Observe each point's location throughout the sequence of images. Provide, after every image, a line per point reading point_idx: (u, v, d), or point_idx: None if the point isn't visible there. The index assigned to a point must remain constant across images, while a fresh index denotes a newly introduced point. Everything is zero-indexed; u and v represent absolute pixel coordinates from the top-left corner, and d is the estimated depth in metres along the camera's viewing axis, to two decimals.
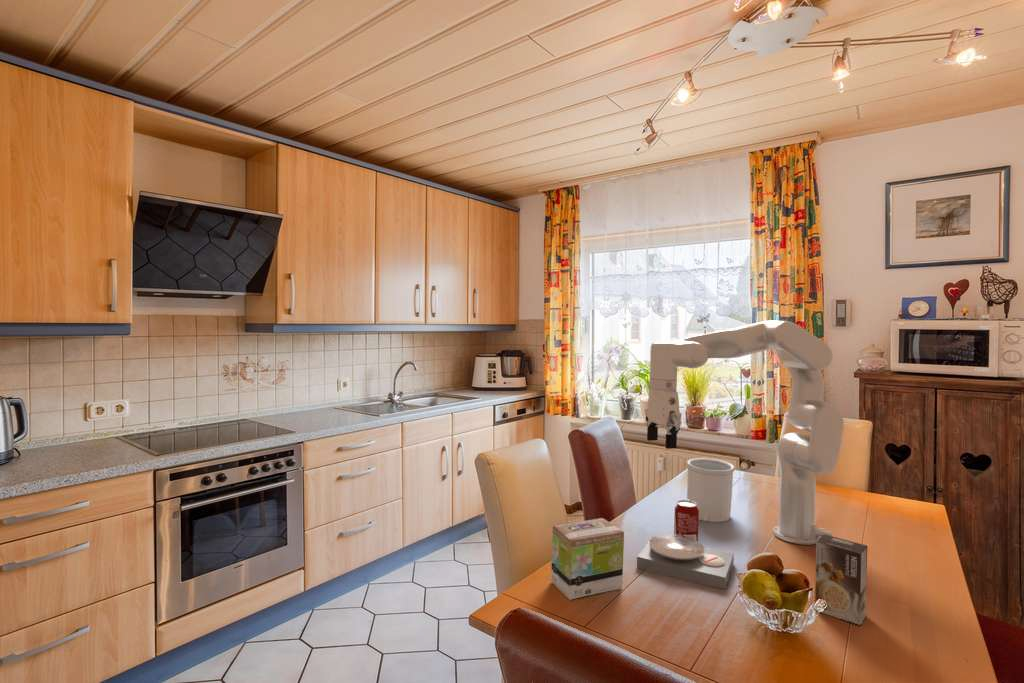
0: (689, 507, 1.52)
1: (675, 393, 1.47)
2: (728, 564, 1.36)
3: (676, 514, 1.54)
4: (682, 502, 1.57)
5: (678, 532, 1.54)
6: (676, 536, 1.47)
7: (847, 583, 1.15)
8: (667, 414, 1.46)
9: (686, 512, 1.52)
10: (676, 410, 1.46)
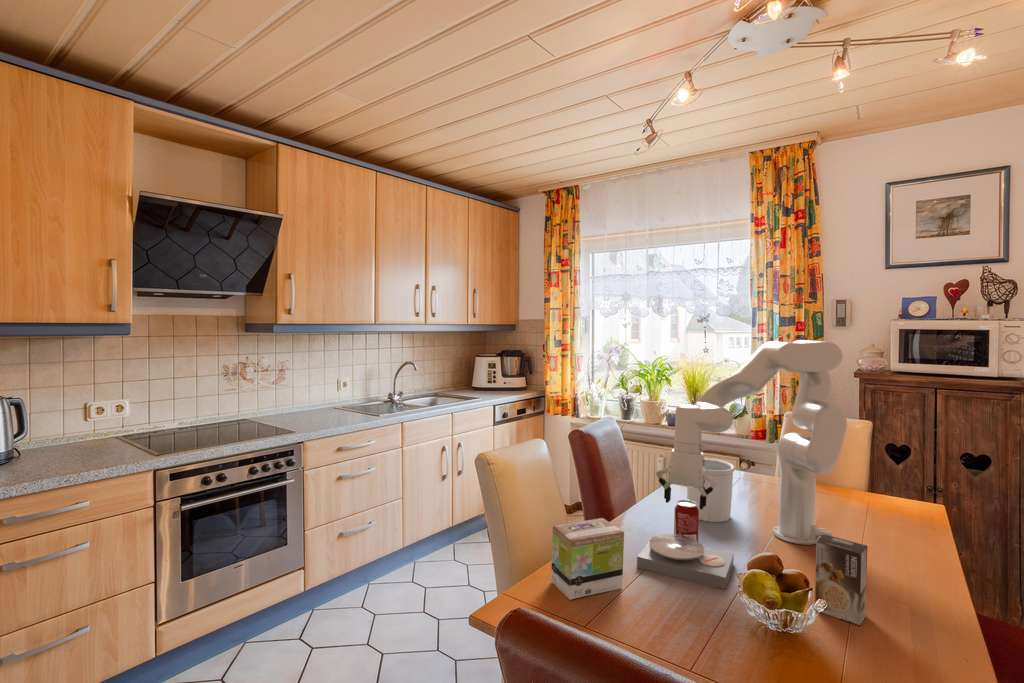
0: (689, 507, 1.52)
1: (703, 454, 1.53)
2: (728, 564, 1.36)
3: (676, 514, 1.54)
4: (682, 502, 1.57)
5: (678, 532, 1.54)
6: (676, 536, 1.47)
7: (847, 583, 1.15)
8: (702, 476, 1.51)
9: (686, 512, 1.52)
10: None
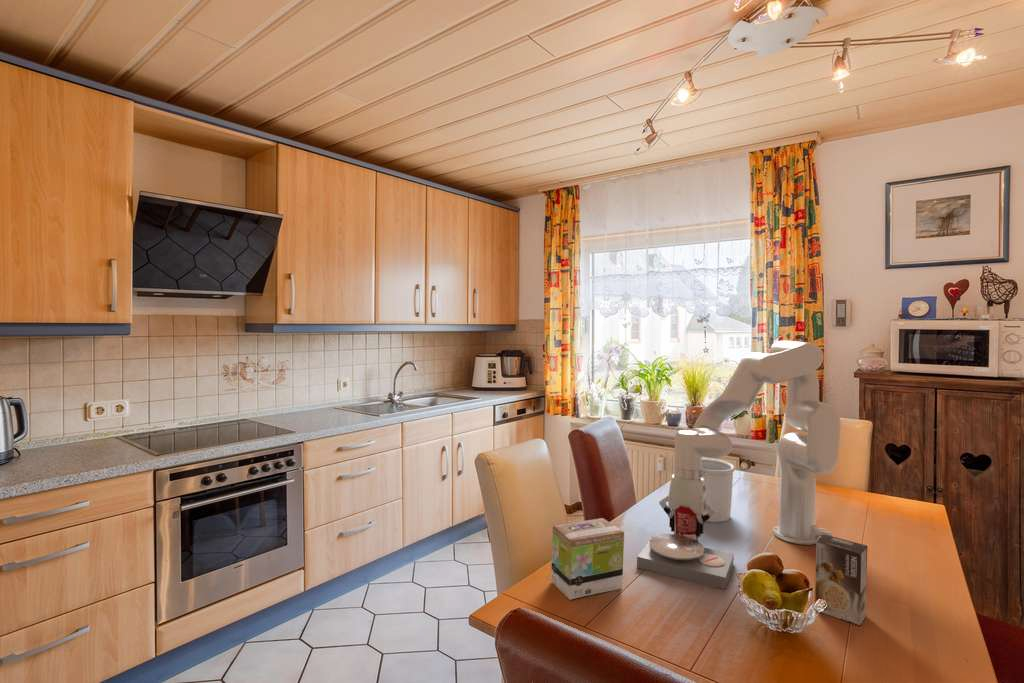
0: (689, 507, 1.52)
1: None
2: (728, 564, 1.36)
3: (676, 514, 1.54)
4: None
5: (678, 532, 1.54)
6: (676, 536, 1.47)
7: (847, 583, 1.15)
8: (703, 502, 1.51)
9: (686, 512, 1.52)
10: (705, 496, 1.53)
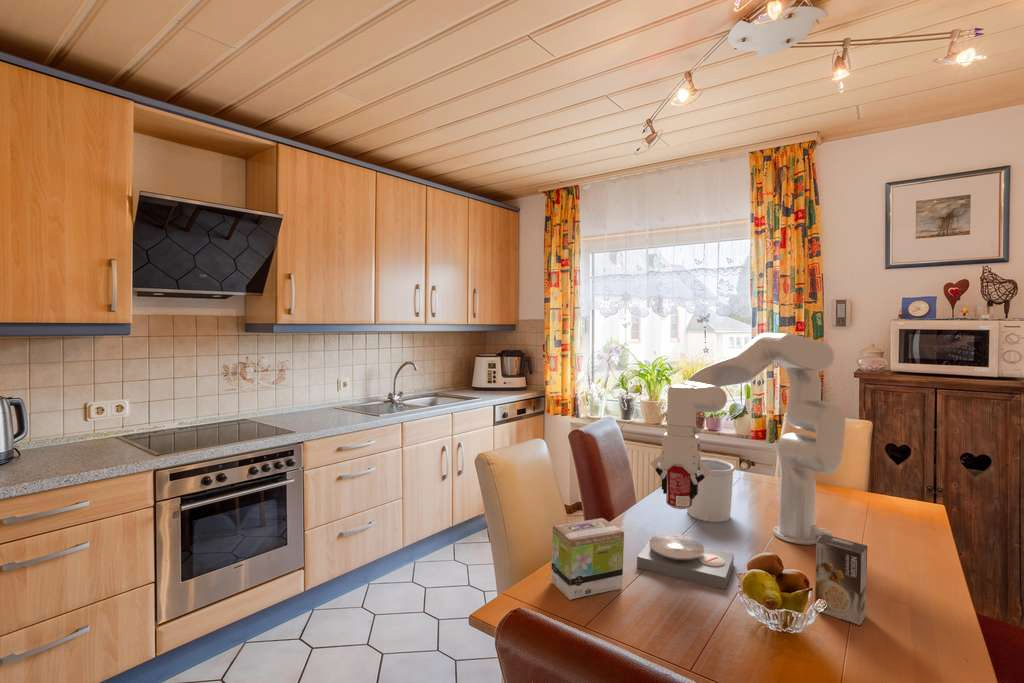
0: (682, 466, 1.41)
1: (698, 438, 1.42)
2: (728, 564, 1.36)
3: (668, 474, 1.43)
4: None
5: (670, 493, 1.43)
6: (676, 536, 1.47)
7: (847, 583, 1.15)
8: (697, 461, 1.40)
9: (679, 471, 1.41)
10: (700, 455, 1.43)
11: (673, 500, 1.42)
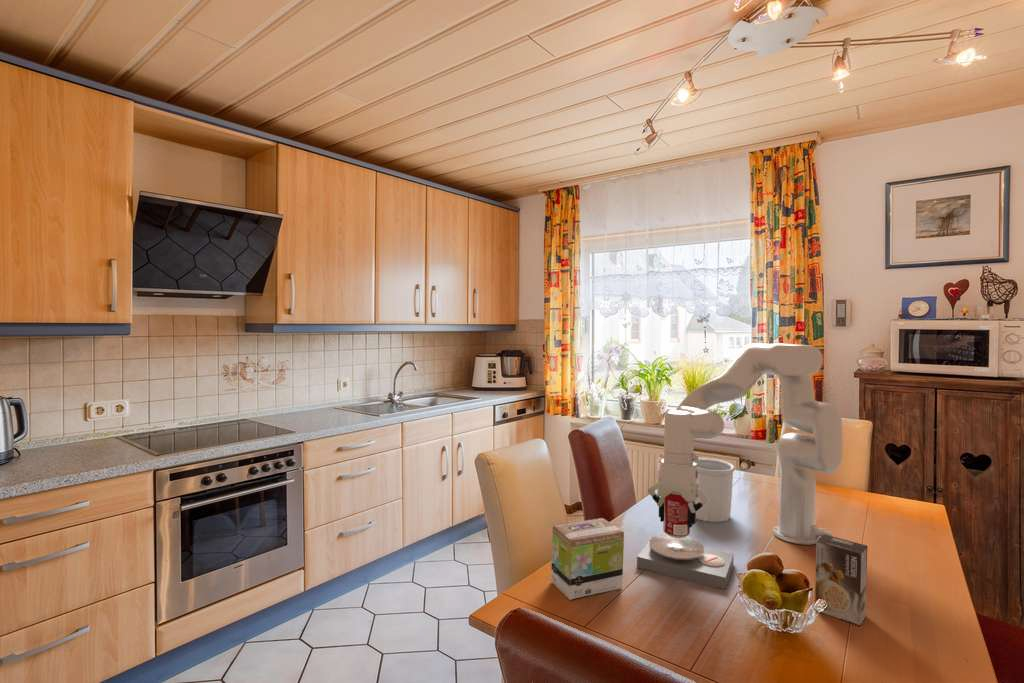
0: (680, 494, 1.39)
1: (696, 465, 1.40)
2: (728, 564, 1.36)
3: (665, 502, 1.41)
4: None
5: (667, 522, 1.40)
6: None
7: (847, 583, 1.15)
8: (695, 489, 1.38)
9: (677, 500, 1.38)
10: None
11: (671, 529, 1.39)
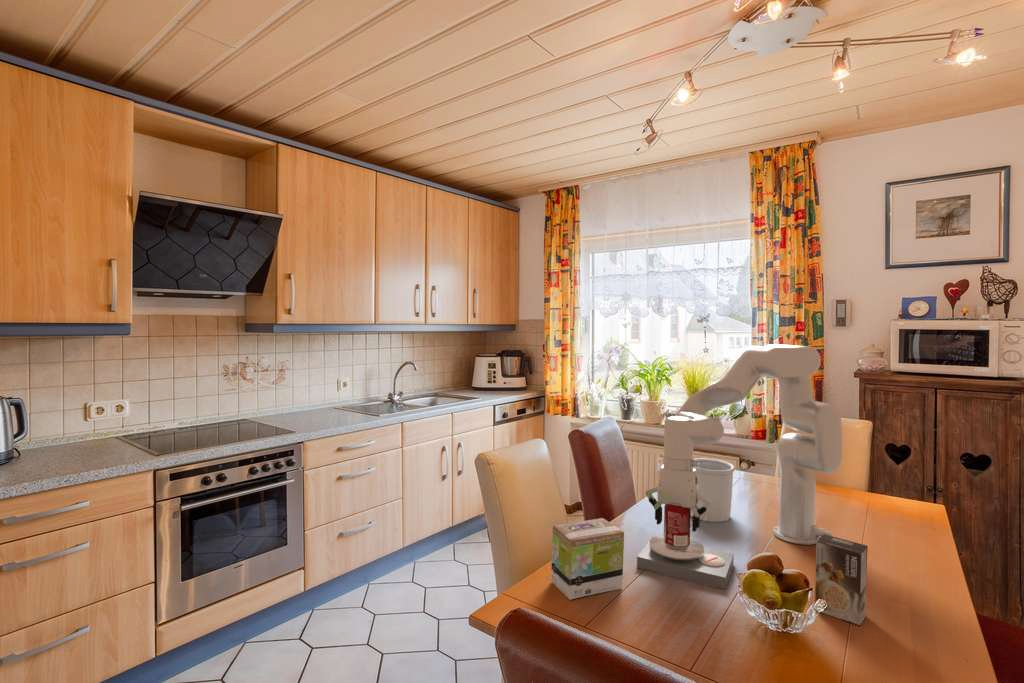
0: (680, 505, 1.39)
1: None
2: (728, 564, 1.36)
3: (666, 513, 1.41)
4: None
5: (668, 533, 1.40)
6: None
7: (847, 583, 1.15)
8: (695, 495, 1.38)
9: (677, 511, 1.39)
10: None
11: (671, 540, 1.39)
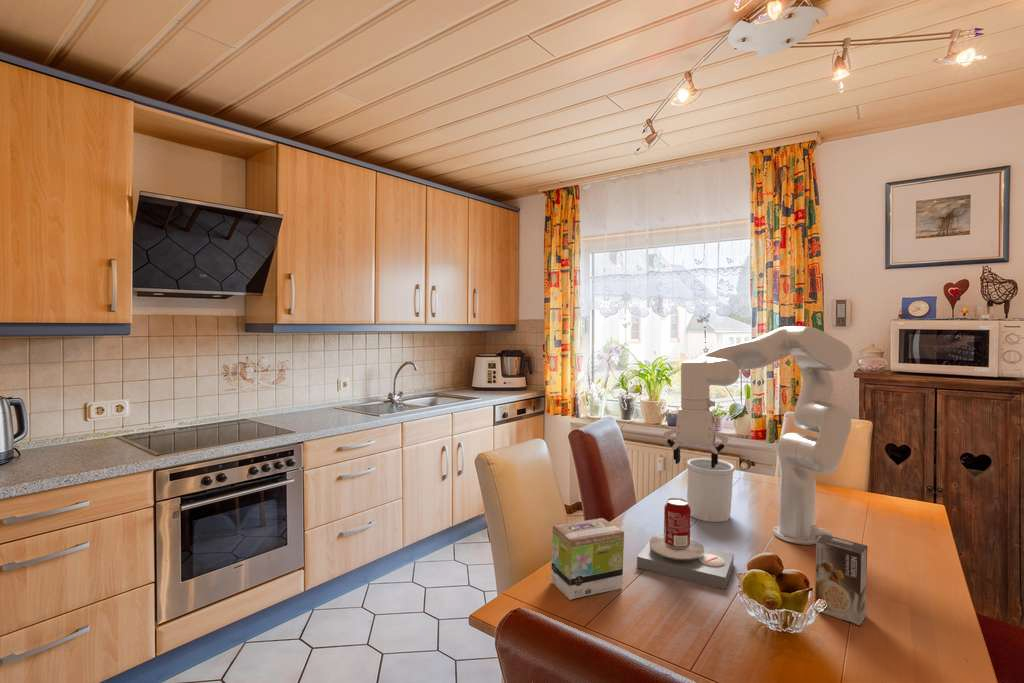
0: (680, 505, 1.39)
1: (712, 411, 1.46)
2: (728, 564, 1.36)
3: (666, 513, 1.41)
4: (672, 500, 1.43)
5: (668, 533, 1.40)
6: None
7: (847, 583, 1.15)
8: (713, 433, 1.44)
9: (677, 511, 1.38)
10: (714, 428, 1.46)
11: (671, 540, 1.39)
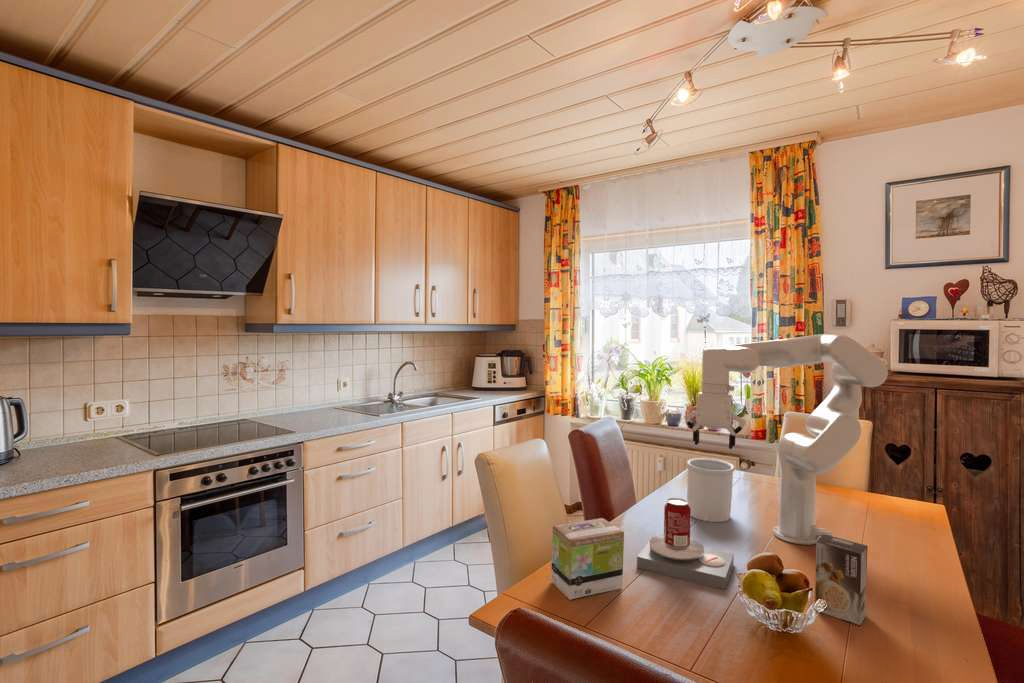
0: (680, 505, 1.39)
1: (731, 395, 1.55)
2: (728, 564, 1.36)
3: (666, 513, 1.41)
4: (672, 500, 1.43)
5: (668, 533, 1.40)
6: None
7: (847, 583, 1.15)
8: (731, 416, 1.53)
9: (677, 511, 1.38)
10: None
11: (671, 540, 1.39)
